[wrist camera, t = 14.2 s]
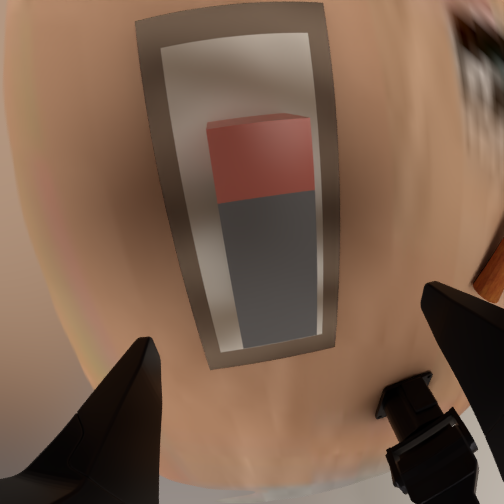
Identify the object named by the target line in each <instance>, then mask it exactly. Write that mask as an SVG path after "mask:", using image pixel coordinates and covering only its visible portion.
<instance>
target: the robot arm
mask: <svg viewBox="0 0 504 504" xmlns="http://www.w3.org/2000/svg"><path fill="white" fill-rule="evenodd" d="M421 309H422V311H423V314H424V316H425V318H426V320H427V322H428V324H429V326H430V328H431V331H432V333H433V335H434V337H435V339H436V341H437V343H438V345H439V347H440V349H441V351H442V352H443V354H444V356H445V358H446V360H447V361H448V363H449V365H450V367H451V369H452V371H453V372H454V374H455V376H456V378H457V380H458V382H459V384H460V386H461V387H462V389H463V391H464V393H465V395H466V397H467V399H468V401H469V403H470V405H471V407H472V409H473V411H474V413H475V416H476V418H477V420H478V422H479V424H480V426H481V429H482V431H483V433H484V435H485V438H486V440H487V442H488V445H489V447H490V449H491V452H492V454H493V457H494V459H495V462H496V464H497V467H498V469H499V472H500V474H501V477H502V480H503V482H504V309H503V308H501V307H498V306H496V305H494V304H491V303H489V302H486V301H484V300H482V299H479V298H477V297H474V296H472V295H470V294H467V293H465V292H462V291H460V290H457V289H455V288H452V287H450V286H447V285H445V284H442V283H440V282H437V281H433V282H429V283H426V284H425V286H424V289H423V294H422V299H421ZM432 375H433V374H432V373H431V372H427V373H424V374H422V375H419V376H416V377H414V378H411V379H408V380H406V381H403V382H400V383H397V384H394V385H391V386H388V387H386V388H385V389H384V391H383V394H382V397H381V400H380V403H379V406H378V409H377V412H376V415H375V417H376V419H380V418H383V417H386V416H387V418H388V420H389V422H390V424H391V427H392V429H393V431H394V433H395V435H396V437H397V439H398V441H399V444H397V445H395V446H393V447H392V448H391V447H390V448H388V449H387V450H386V451H387V454H386V455H385V456H386V458H387V461H388V463H389V466H390V470H391V475H392V481H393V485H394V486H395V487H398V488H400V490H402V492H403V493H404V494H409V496H410V499H411V501H412V502H414V503H415V504H480V503H479V501H478V499H477V497H476V494H475V493H476V487H477V480H478V473H479V467H478V462H477V459H476V457H475V455H474V454H473V453H474V452H476V451H477V450H478V448H477V446H476V443H475V442H474V439H473V437H472V436H471V434H470V432H469V431H468V429H467V427H466V426H465V424H464V423H463V421H462V420H461V418H460V417H459V415H458V414H457V412H456V411H455V409H454V408H453V407H452V408H451V409H449V411H448V412H446V413H445V414H443V412H442V410H441V408H440V407H439V405H438V403H437V400H436V399H435V397H434V396H433V394H432V392H431V391H430V389H429V387H428V384H429V382H430V380H431V378H432ZM77 412H78V414H77V413H76V414H75V415H74V416H73V418H72V419H71V420H70V421H69V423H68V424H67V425H66V426H65V427H64V428H63V430H62V431H61V432H60V433H59V434H58V435H57V436H56V438H55V439H54V440H53V441H52V442H51V443H50V444H49V445H48V446H47V447H46V448H45V449H44V450H43V451H42V453H40V455H39V456H38V457H37V458H36V459H35V460H34V461H33V462H32V463H31V464H30V465H29V466H28V467H27V468H26V469H25V470H23V471H22V472H21V473H19V474H17V475H15V476H12V477H8V478H3V479H0V504H159V460H160V436H161V418H162V385H161V361H160V356H159V353H158V351H157V349H156V346H155V344H154V342H153V339H152V338H151V337H140V338H138V339H136V341H135V342H134V343H133V344H132V345H131V347H130V348H129V349H128V350H127V351H126V353H125V354H124V355H123V356H122V357H121V359H120V360H119V361H118V362H117V363H116V365H115V366H114V367H113V368H112V369H111V371H110V372H109V373H108V374H107V376H106V377H105V378H104V379H103V380H102V382H101V383H100V384H99V385H98V387H97V388H96V389H95V390H94V392H93V393H92V394H91V395H90V396H89V398H88V399H87V400H86V402H85V403H84V404H83V405H82V406H81V408H80V409H79V410H78V411H77ZM454 424H455V425H454ZM453 425H454V426H453ZM452 426H453V427H452Z"/></svg>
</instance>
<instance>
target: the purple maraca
mask: <svg viewBox="0 0 504 504" xmlns="http://www.w3.org/2000/svg"><path fill="white" fill-rule="evenodd" d="M473 287H474V289H475V291H476V292H477V293H478V294H479V295H480V296H481V297H483V298H484V299H486V300H487V301H489V302H492V303H497V302H498V301H499V298H500V296H501V294H502V292H503V290H504V238H503V239H502V241H501V243H500V244H499V246H498V247H497V249H496V251H495V252H494V254H493V255H492V257H491V259H490V260H489V262H488V263H487V265H486V266H485V268H484V269H483V271H482V272H481V274H480V275H479V276H478V278H477V279H476V281H475V282H474V284H473Z"/></svg>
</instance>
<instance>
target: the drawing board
mask: <svg viewBox="0 0 504 504" xmlns="http://www.w3.org/2000/svg"><path fill="white" fill-rule="evenodd" d="M135 27H136V36H137V45H138V53H139V61H140V69H141V76H142V83H143V90H144V96H145V103H146V109H147V115H148V121H149V127H150V132H151V138H152V143H153V149H154V154H155V159H156V164H157V169H158V174H159V179H160V184H161V188H162V193H163V198H164V202H165V207H166V211H167V215H168V220H169V224H170V228H171V232H172V237H173V241H174V245H175V249H176V253H177V257H178V261H179V265H180V268H181V272H182V276H183V280H184V283H185V287H186V291H187V294H188V298H189V302H190V305H191V309H192V312H193V316H194V319H195V322H196V326H197V329H198V333H199V336H200V339H201V342H202V346H203V349H204V352H205V355H206V358H207V362H208V365H209V368H210V370H214V369H221V368H228V367H235V366H241V365H247V364H253V363H259V362H265V361H270V360H276V359H281V358H286V357H291V356H296V355H301V354H306V353H310V352H315V351H319V350H324V349H328V348H332V347H335V339H336V325H337V309H338V289H339V260H340V184H339V155H338V135H337V120H336V106H335V94H334V83H333V73H332V64H331V55H330V47H329V40H328V32H327V25H326V18H325V12H324V6H323V3H318V2H257V3H242V4H230V5H220V6H212V7H205V8H198V9H191V10H185V11H180V12H174V13H169V14H165V15H160V16H155V17H151V18H147V19H143V20H139V21H135ZM277 113H288V114H293V115H299V116H304V117H309V118H310V122H311V135H312V148H313V164H314V181H315V202H316V231H317V335H314V336H309V337H304V338H300V339H295V340H289V341H284V342H279V343H274V344H268V345H263V346H257V347H251V348H245V349H243V344H242V338H241V333H240V328H239V323H238V317H237V312H236V307H235V301H234V296H233V290H232V285H231V279H230V273H229V268H228V262H227V256H226V251H225V245H224V239H223V233H222V227H221V221H220V215H219V209H218V203H217V197H216V191H215V185H214V178H213V172H212V166H211V159H210V153H209V146H208V140H207V133H206V127H207V122H213V121H219V120H226V119H233V118H241V117H249V116H258V115H267V114H277Z"/></svg>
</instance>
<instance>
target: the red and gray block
mask: <svg viewBox="0 0 504 504" xmlns="http://www.w3.org/2000/svg"><path fill="white" fill-rule="evenodd" d="M206 133H207V140H208V146H209V153H210V159H211V166H212V172H213V178H214V185H215V191H216V197H217V203H218V209H219V215H220V221H221V227H222V233H223V239H224V245H225V251H226V256H227V262H228V268H229V273H230V279H231V285H232V290H233V296H234V301H235V307H236V312H237V317H238V323H239V328H240V333H241V338H242V344H243V349H245V348H251V347H257V346H263V345H268V344H274V343H279V342H284V341H289V340H295V339H300V338H304V337H309V336H314V335H317V231H316V202H315V181H314V164H313V148H312V135H311V122H310V118H309V117H304V116H299V115H293V114H288V113H277V114H267V115H258V116H249V117H241V118H233V119H226V120H219V121H213V122H207V127H206Z"/></svg>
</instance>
